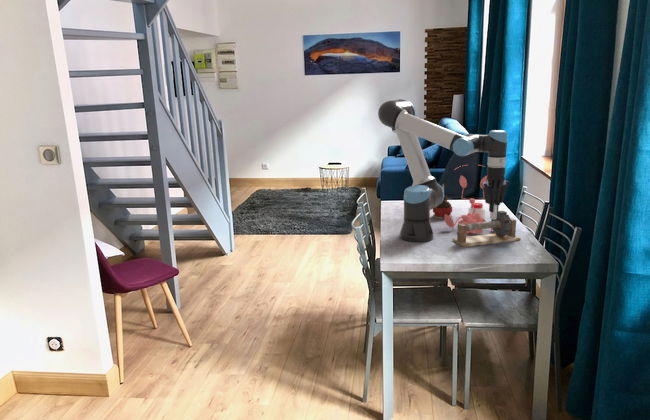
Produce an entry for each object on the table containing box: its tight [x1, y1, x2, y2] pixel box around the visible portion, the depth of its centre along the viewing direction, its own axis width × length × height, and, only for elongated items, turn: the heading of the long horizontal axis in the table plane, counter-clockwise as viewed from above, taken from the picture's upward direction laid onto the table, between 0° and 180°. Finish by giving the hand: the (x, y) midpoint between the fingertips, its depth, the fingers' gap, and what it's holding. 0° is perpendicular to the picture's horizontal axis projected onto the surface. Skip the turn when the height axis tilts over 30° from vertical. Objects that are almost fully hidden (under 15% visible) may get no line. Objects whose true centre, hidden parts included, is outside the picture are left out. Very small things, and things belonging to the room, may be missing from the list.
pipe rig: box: [452, 217, 521, 248], centre depth 234 cm, size 28×10×9 cm, turn 106°
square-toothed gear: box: [490, 210, 512, 237], centre depth 235 cm, size 3×11×11 cm, turn 16°
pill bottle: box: [468, 202, 486, 222], centre depth 258 cm, size 8×8×11 cm
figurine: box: [443, 164, 493, 235], centre depth 252 cm, size 15×26×35 cm
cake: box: [432, 183, 453, 220], centre depth 274 cm, size 11×9×18 cm
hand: (493, 218), depth 234 cm, fingers closed
